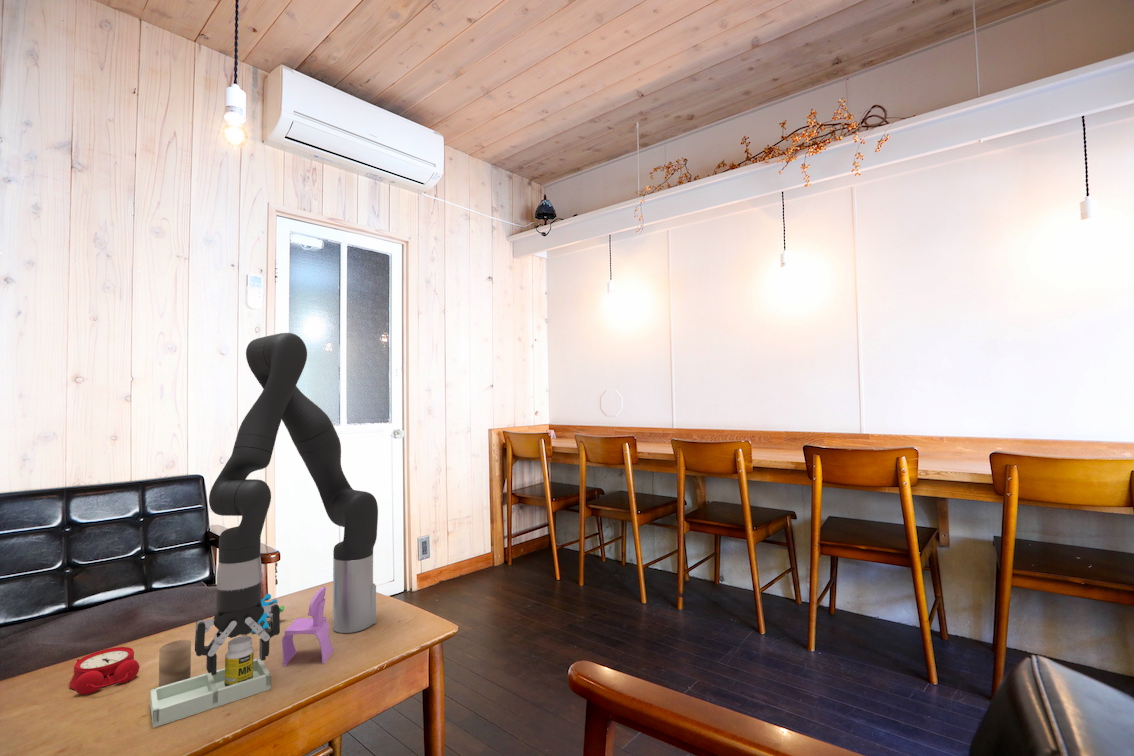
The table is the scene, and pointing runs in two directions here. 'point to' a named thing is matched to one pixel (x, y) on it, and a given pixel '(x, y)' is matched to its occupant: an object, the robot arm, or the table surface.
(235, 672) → the supplement bottle
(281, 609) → the gear
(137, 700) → the table surface
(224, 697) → the slot rack
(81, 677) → the alarm clock
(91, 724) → the table surface
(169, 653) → the walnut dowel
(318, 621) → the toy chair
